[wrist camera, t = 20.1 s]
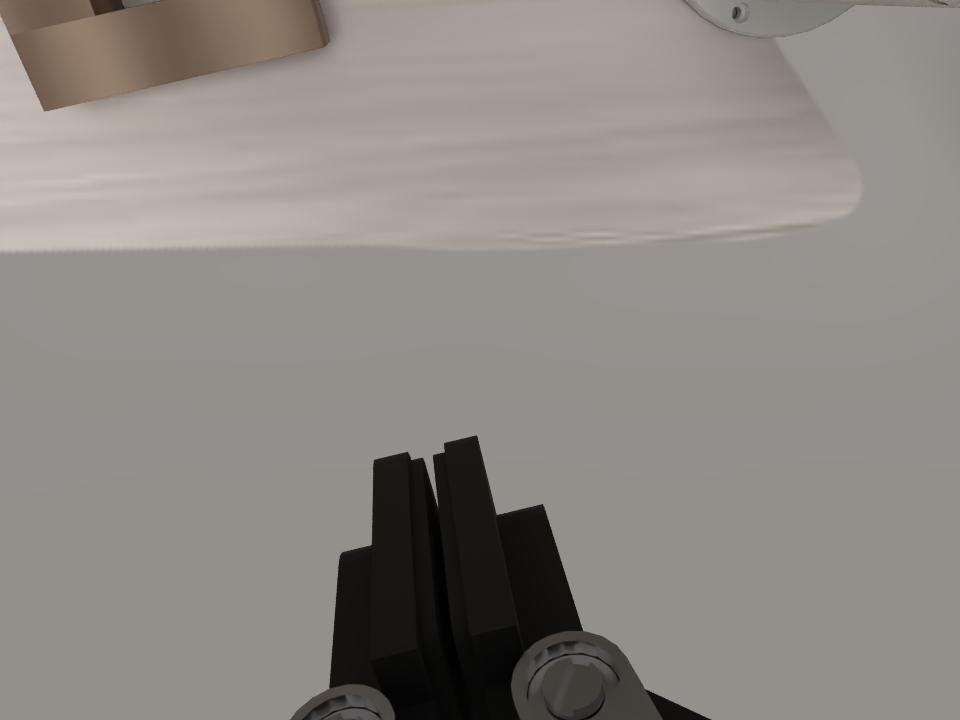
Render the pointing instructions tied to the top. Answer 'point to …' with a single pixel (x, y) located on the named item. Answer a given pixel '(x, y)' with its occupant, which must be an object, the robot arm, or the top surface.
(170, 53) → the port block
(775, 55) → the top surface
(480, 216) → the top surface
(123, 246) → the top surface
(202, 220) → the top surface
